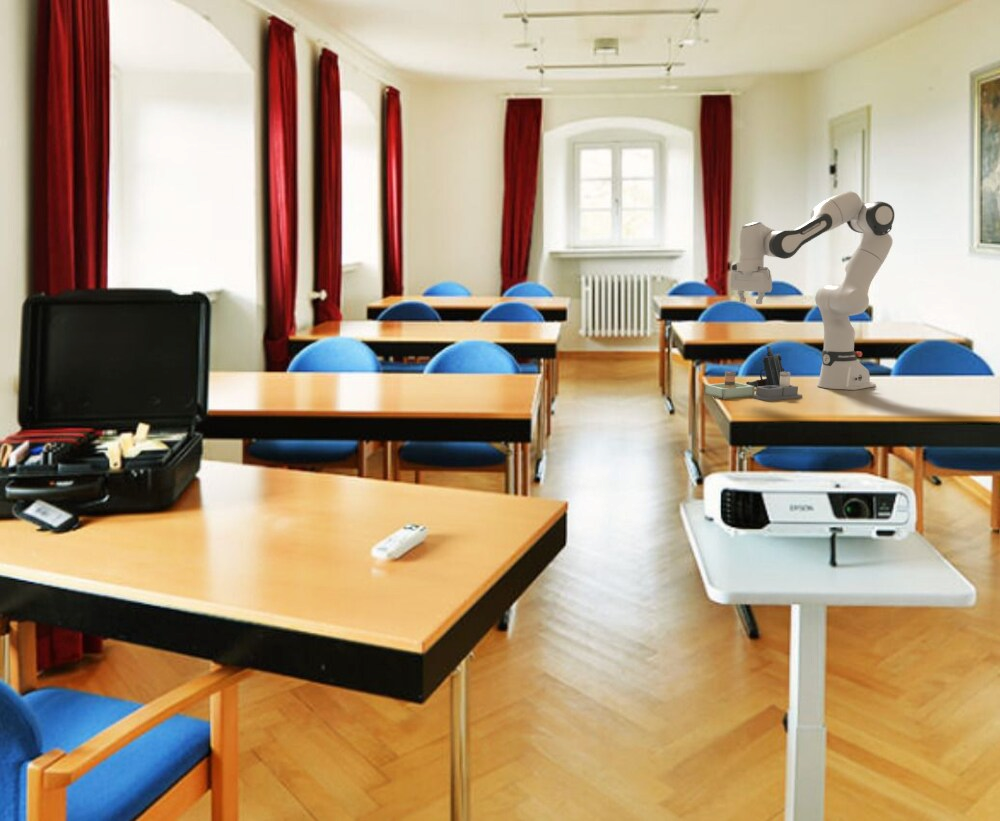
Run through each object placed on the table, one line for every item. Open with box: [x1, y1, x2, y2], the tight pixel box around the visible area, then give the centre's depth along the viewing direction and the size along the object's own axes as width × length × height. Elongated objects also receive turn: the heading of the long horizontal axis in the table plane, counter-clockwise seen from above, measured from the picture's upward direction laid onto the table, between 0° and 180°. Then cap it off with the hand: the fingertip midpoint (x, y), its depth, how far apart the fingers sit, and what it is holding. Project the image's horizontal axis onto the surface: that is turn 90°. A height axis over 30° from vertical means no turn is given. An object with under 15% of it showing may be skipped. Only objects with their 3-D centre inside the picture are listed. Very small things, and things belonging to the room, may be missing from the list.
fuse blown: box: [724, 370, 736, 388], centre depth 377 cm, size 4×4×8 cm
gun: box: [745, 346, 786, 389], centre depth 387 cm, size 3×17×15 cm
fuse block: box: [750, 384, 803, 402], centre depth 371 cm, size 16×9×4 cm, turn 115°
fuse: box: [780, 371, 791, 387], centre depth 372 cm, size 4×4×8 cm
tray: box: [704, 381, 756, 400], centre depth 377 cm, size 14×11×4 cm
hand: (750, 303), depth 384 cm, fingers open, 8 cm apart
